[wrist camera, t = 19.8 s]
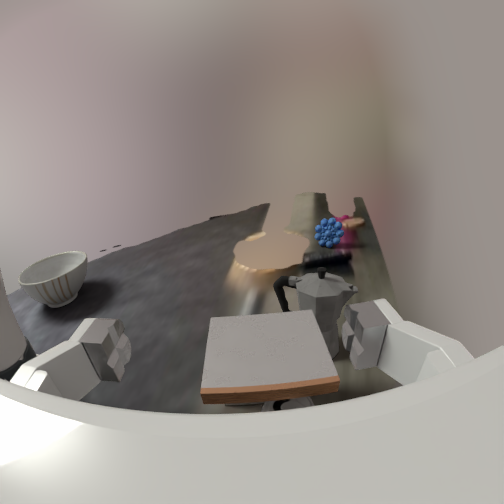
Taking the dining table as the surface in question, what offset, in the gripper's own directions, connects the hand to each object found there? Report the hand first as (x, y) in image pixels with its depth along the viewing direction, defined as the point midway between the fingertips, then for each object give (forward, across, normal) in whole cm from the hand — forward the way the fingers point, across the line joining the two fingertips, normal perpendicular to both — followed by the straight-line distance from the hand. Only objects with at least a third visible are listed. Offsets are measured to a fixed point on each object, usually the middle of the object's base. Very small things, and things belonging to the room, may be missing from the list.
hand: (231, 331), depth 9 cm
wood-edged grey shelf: (+17, +2, -32) cm, 36 cm away
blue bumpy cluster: (+89, +32, -32) cm, 100 cm away
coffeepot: (+34, +12, -32) cm, 48 cm away
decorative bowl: (+60, -63, -32) cm, 93 cm away
